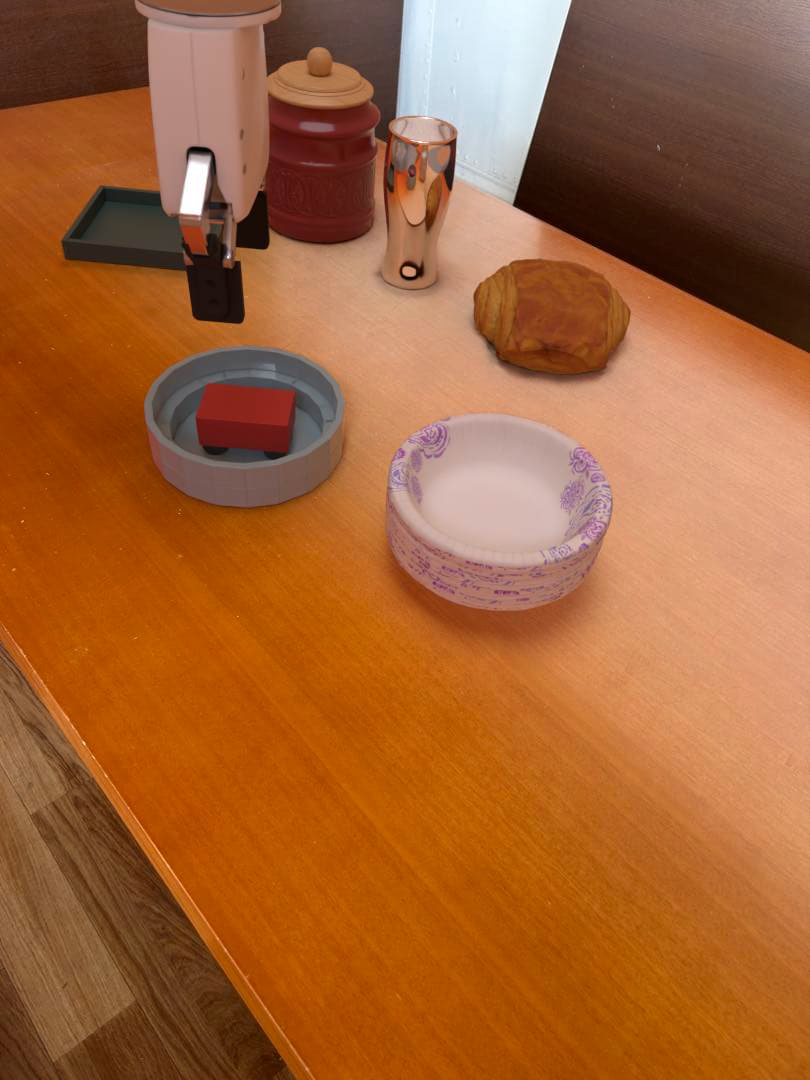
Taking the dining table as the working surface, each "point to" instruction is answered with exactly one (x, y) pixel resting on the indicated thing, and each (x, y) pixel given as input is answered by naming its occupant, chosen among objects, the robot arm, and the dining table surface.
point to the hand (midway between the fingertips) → (234, 280)
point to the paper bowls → (496, 511)
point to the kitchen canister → (320, 150)
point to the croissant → (551, 316)
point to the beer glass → (416, 197)
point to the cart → (246, 419)
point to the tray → (128, 230)
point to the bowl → (242, 470)
